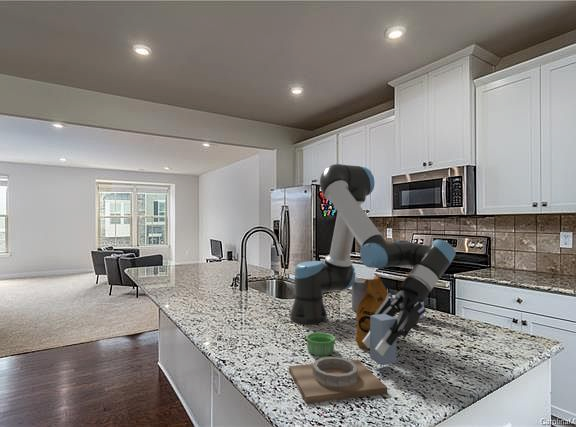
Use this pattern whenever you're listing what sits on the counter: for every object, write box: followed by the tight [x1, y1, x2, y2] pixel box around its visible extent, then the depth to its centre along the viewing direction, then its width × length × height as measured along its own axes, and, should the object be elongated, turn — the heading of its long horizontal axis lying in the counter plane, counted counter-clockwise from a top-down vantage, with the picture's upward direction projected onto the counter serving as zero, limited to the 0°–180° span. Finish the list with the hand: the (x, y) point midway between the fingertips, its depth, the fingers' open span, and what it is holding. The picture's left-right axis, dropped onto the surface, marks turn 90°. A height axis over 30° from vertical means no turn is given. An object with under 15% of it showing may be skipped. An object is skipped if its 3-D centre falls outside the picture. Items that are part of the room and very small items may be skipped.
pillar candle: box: [351, 277, 369, 313], centre depth 152 cm, size 10×10×15 cm
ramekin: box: [305, 332, 336, 357], centre depth 104 cm, size 9×9×4 cm
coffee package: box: [355, 275, 389, 350], centre depth 111 cm, size 10×12×22 cm
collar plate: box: [288, 356, 388, 405], centre depth 84 cm, size 16×20×4 cm
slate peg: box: [369, 314, 397, 367], centre depth 92 cm, size 5×5×12 cm
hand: (372, 348), depth 91 cm, fingers closed on slate peg, 5 cm apart
